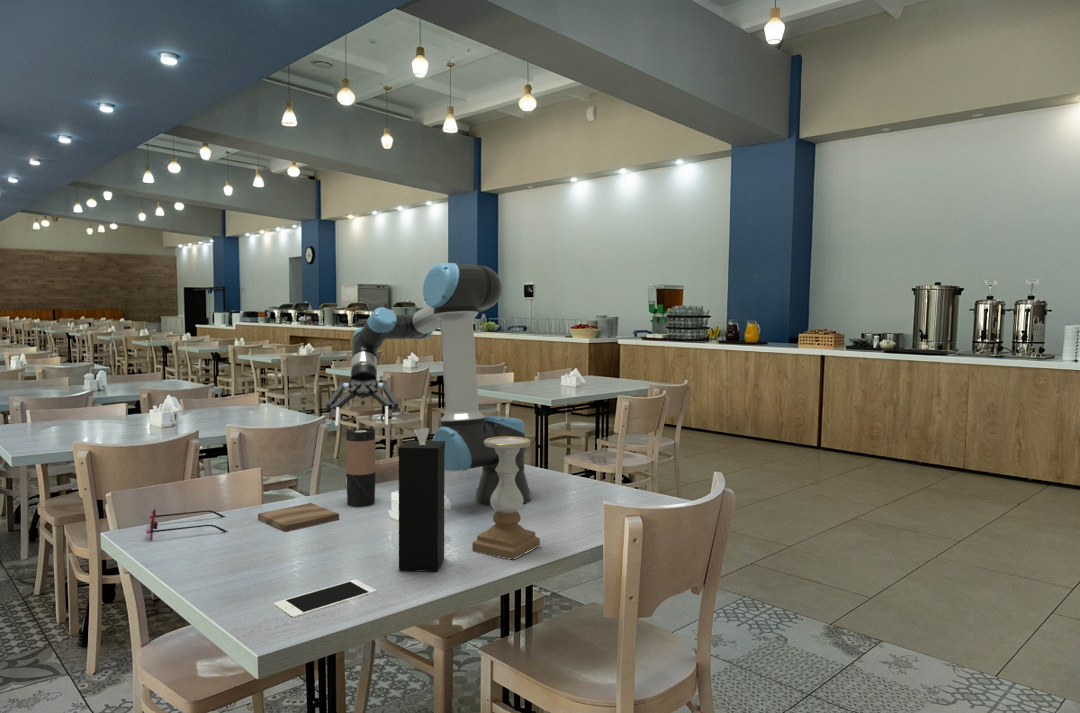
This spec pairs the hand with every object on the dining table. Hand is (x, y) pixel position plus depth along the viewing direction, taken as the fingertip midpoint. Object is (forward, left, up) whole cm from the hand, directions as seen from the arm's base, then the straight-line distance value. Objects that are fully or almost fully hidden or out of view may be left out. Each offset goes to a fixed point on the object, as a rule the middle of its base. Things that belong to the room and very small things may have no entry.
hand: (361, 427), depth 194 cm
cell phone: (-58, +45, -20) cm, 76 cm away
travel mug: (-8, +6, -19) cm, 22 cm away
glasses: (+1, +46, -20) cm, 50 cm away
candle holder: (-62, +4, -19) cm, 65 cm away
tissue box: (-57, +23, -19) cm, 64 cm away
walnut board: (-10, +25, -19) cm, 33 cm away
